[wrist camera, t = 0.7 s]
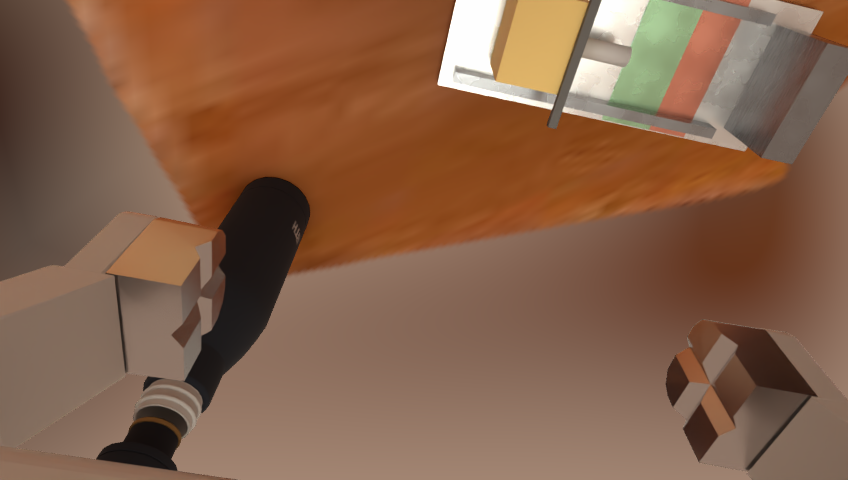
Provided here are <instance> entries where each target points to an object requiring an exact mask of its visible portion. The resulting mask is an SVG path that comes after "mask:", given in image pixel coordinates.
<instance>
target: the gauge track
mask: <svg viewBox="0 0 848 480" xmlns="http://www.w3.org/2000/svg"><path fill="white" fill-rule="evenodd" d="M506 1H507V0H456V1H455V5H454V10H453V14H452V19H451V23H450V28H449V32H448V37H447V41H446V46H445V50H444V55H443V59H442V63H441V68H440V72H439V77H438V85H441V86H445V87H450V88H455V89H459V90H464V91H468V92H473V93H478V94H482V95H487V96H491V97H496V98H501V99H505V100H510V101H515V102H519V103H524V104H528V105H533V106H538V107H542V108H547V109H551V110H552V108H553V105H554V102H555V99H556V96H557V95H556V94H551V93H546V92H542V91H537V90H533V89H528V88H524V87H519V86H515V85H510V84H505V83H501V82H496V81H495V78H494V75H493V72H492V69H491V66H490V61H491V57H492V53H493V50H494V46H495V42H496V39H497V35H498V31H499V27H500V24H501V20H502V16H503V13H504V9H505V5H506ZM822 14H823V12H822V11H819V10H815V9H811V8H807V7H803V6H799V5H795V4H791V3H787V2H783V1H779V0H602V1H601V4H600V7H599V10H598V13H597V15H596V18H595V21H594V24H593V27H592V29H591V32H590V35H589V37H590V38H594V39H598V40H603V41H607V42H611V43H616V44H620V45H624V46H629V47H631V48H632V54H631V58H630V61H629V63H628V64H627V66H626V67H620V66H616V65H611V64H607V63H602V62H598V61H594V60H589V59H585V58H581V60H580V63H579V66H578V69H577V72H576V74H575V77H574V80H573V83H572V86H571V88H570V91H569V94H568V97H567V100H566V102H565V105H564V108H563V111H562V112H565V113H570V114H575V115H579V116H584V117H588V118H593V119H598V120H602V121H607V122H611V123H616V124H621V125H625V126H630V127H635V128H639V129H644V130H648V131H653V132H658V133H662V134H667V135H671V136H676V137H681V138H685V139H690V140H695V141H699V142H704V143H708V144H713V145H718V146H722V147H727V148H731V149H736V150H741V151H745V150H746V149H747V147H749V148H750V149H751V150H752V151H754V152H755V153H756V154H757V155H759V156H760V157H761V158H766V159H770V160H775V161H780V162H784V163H789V164H792V163H793V162H794V160H795V159H796V157H797V155H798V154H799V152H800V150H801V149H802V147H803V146H804V144H805V142H806V141H807V139H808V138H809V136H810V135H811V133H812V131H813V130H814V128H815V126H816V125H817V123H818V122H819V120H820V118H821V117H822V115H823V114H824V112H825V110H826V109H827V107H828V106H829V104H830V102H831V101H832V99H833V98H834V96H835V94H836V93H837V91H838V90H839V88H840V86H841V85H842V83H843V81H844V80H845V78H846V77H847V75H848V46H845V45H842V44H839V43H836V42H834V41H831V40H828V39H825V38H822V37H819V36H817V35H814V34H811V33H812V31H813V30H814V28H815V26H816V24H817V23H818V21H819V19H820V17H821V16H822Z"/></svg>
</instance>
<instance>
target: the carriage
mask: <svg viewBox="0 0 848 480" xmlns="http://www.w3.org/2000/svg"><path fill="white" fill-rule="evenodd" d="M601 1H602V0H507V1H506V5H505V9H504V13H503V16H502V20H501V24H500V27H499V31H498V35H497V39H496V42H495V46H494V50H493V53H492V57H491V61H490V66H491V69H492V72H493V75H494V78H495V81H496V82H501V83H505V84H510V85H515V86H519V87H524V88H528V89H533V90H537V91H542V92H546V93H551V94H556V95H557V96H556V99H555V102H554V105H553V108H552V111H551V114H550V117H549V120H548V122H547V126H548V127H549V128H554V129H556V128H557V125H558V122H559V119H560V116H561V114H562V111H563V108H564V105H565V102H566V100H567V97H568V94H569V91H570V88H571V86H572V83H573V80H574V77H575V74H576V72H577V69H578V66H579V63H580V60H581V58H585V59H589V60H594V61H598V62H602V63H607V64H611V65H616V66H620V67H626V66H627V64H628V63H629V61H630V58H631V54H632V48H631V47H629V46H624V45H620V44H616V43H611V42H607V41H603V40H598V39H594V38H590V37H589V35H590V32H591V29H592V27H593V24H594V21H595V18H596V15H597V13H598V10H599V7H600V4H601Z"/></svg>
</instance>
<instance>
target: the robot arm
mask: <svg viewBox="0 0 848 480" xmlns="http://www.w3.org/2000/svg"><path fill="white" fill-rule="evenodd" d="M225 254H226V236H225V234H224V232H223V230H220V229H215V228H210V227H205V226H200V225H195V224H190V223H186V222H181V221H176V220H171V219H166V218H161V217H160V218H158V217H156V216H151V215H146V214H140V213H134V212H129V211H127V212H121V213H119V214H118V215H117V216H116V217H115V218H114V219H113V220H112V221H111V222H110V223H109V224H108V225H107V226H106V227H105V228H104V229H103V230H102V231H100V232H99V233H98V234H97V235H96V236H95V237H94V238H93V239H92V240H91V241H90V242H89V243H88V244H87V245H86V246H85V247H84V248H83V249H82V250H81V251H79V252H78V253H77V254H76V255H75V256H74V257H73V258H72V259H71V260H70V261H69V262H68V263H67V264H66V265H65V266H64V267H63V266H56V265H51V266H48V267H45V268H42V269H39V270H35V271H33V272H29V273H26V274H23V275H20V276H16V277H13V278H10V279H7V280H4V281H1V282H0V480H236V479H229V478H222V477H215V476H208V475H201V474H194V473H187V472H180V471H173V470H166V469H159V468H152V467H145V466H138V465H131V464H124V463H117V462H110V461H104V460H97V459H90V458H83V457H75V456H69V455H61V454H55V453H47V452H41V451H34V450H27V449H20V448H17V447H18V446H20V445H21V444H23V443H24V442H26V441H27V440H29V439H30V438H32V437H33V436H35V435H36V434H38V433H39V432H41V431H43V430H44V429H46V428H47V427H49V426H50V425H52V424H53V423H55V422H56V421H58V420H59V419H61V418H63V417H64V416H65V415H67V414H69V413H70V412H72V411H73V410H75V409H76V408H78V407H79V406H81V405H83V404H84V403H86V402H87V401H89V400H90V399H92V398H93V397H95V396H96V395H98V394H99V393H101V392H102V391H104V390H105V389H107V388H109V387H110V386H111V385H113V384H115V383H116V382H118V381H119V380H121V379H122V378H124V377H125V376H126V374H125V373H127V374H135V375H142V376H150V377H158V378H165V379H173V380H180V381H185V379H186V377H187V375H188V373H189V372H190V370H191V368H192V366H193V364H194V362H195V360H196V359H197V357H198V355H199V353H200V351H201V336H202V335H204V334H206V333H208V332H209V331H211V330H212V328H213V326H214V324H215V323H216V321H217V319H218V316H219V313H220V309H221V306H222V303H223V298H224V291H225V274H224V273H223V271H222V270H221V269H220V267H219V266H218V265H219V264H220V262H221V260H222V259H223V257H224V255H225ZM687 338H688V342H689V348H687V349H685V350H683V351H682V352H680V353H679V354H677V355H675V357H674V359H673V361H672V363H671V364H670V366H669V368H668V372H667V378H666V388H667V394H668V397H669V400H670V402H671V404H672V406H673V408H674V409H675V410H676V411H677V412H678V413H680V414H681V415H682V416H683V417H684V418H685V419H686V422H685V425H684V427H683V430H684V432H685V434H686V436H687V439H688V440H689V443H690V445H691V447H692V449H693V451H694V453H695V455H696V457H697V459H698V462H699V463H704V464H709V465H715V466H720V467H725V468H731V469H736V470H742V471H747V472H748V473H747V475H748V476H749V477H750V478H751V479H752V480H848V400H847V398H846V397H845V396H844V395H843V394H842V392H841V391H840V390H839V389H838V388H837V386H836V385H835V384H834V383H833V382H832V380H831V379H830V378H829V377H828V376H827V374H826V373H825V372H824V371H823V370H822V368H821V367H820V366H819V365H818V364H817V363H816V361H815V360H814V359H813V358H812V357H811V355H809V353H808V352H807V351H806V349H805V348H804V347H803V346H802V345H801V343H800V342H799V341H798V340H797V339H796V338H795V337H794V336H792V335H790V334H788V333H786V332H781V331H774V330H768V329H761V328H751V327H745V326H739V325H733V324H727V323H721V322H716V321H710V320H701V321H699V322H698V323H697V324H695V325H694V327H693V328H692V330H691V331H690V333H689V334H688V336H687Z"/></svg>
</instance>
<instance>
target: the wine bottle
mask: <svg viewBox="0 0 848 480" xmlns="http://www.w3.org/2000/svg"><path fill="white" fill-rule="evenodd" d="M309 217H310V210H309V204H308V202H307V200H306V197H305V196H304V195H303V193H302V192H301V191H300V190H299V189H298V188H297V187H296V186H294V185H293V184H291V183H290V182H288V181H285V180H282V179H279V178H269V177H265V178H261V179H257V180H255V181H253V182H252V183H250V184H249V185H247V186H246V188H245V189H244V191H243V192H242V193H241V195H240V196H239V198H238V199H237V201H236V202H235V204H234V205H233V207H232V208H231V210H230V211H229V213H228V214H227V216H226V217H225V219H224V220H223V222H222V223H221V225H220V226H219V228H218V229H220V230H223V232H224V234H225V236H226V254H225V255H224V257H223V259H222V260H221V262H220V264H219V265H218V266H219V267H220V269H221V270H222V271H223V273H224V274H225V291H224V298H223V303H222V306H221V309H220V313H219V316H218V319H217V321H216V323H215V324H214V326H213V328H212V330H211V331H209V332H208V333H206V334H204V335H202V336H201V351H200V353H199V355H198V357H197V359H196V360H195V362H194V364H193V366H192V368H191V370H190V372H189V373H188V375H187V377H186V379H185V381H180V380H173V379H165V378H158V377H150V376H148V377H147V379H146V380H145V382H144V387H143V393H142V395H141V398H140V399H139V401H138V402H137V403H136V404H135V411H134V416H133V420H134V422H133V423H132V425H131V426H130V428H129V433H128V435H127V436H126V438H125V440H124V441H123V442H120V443H114V444H111V445H109V446H107V447H105V448H104V449H103V450H102V451H101V453H100V454H99V455H98V457H97V460H104V461H110V462H117V463H124V464H131V465H138V466H145V467H152V468H159V469H166V470H173V471H177V467H176V465H175V464H174V462H173V461H172V460H171V458H172V456H173V454H174V452H175V450H176V448H178V446H179V445H180V443H181V439H183V438H185V437H186V436H187V435H188V433H189V432H190V431H191V430H193V428H194V427H195V426H196V422H197V419H198V418H199V417H200V415H201V413H203V412H204V411H205V410H206V409H207V407H208V406H209V404H210V402H211V400H212V397H213V395H214V393H215V391H216V389H217V387H218V385H219V382H220V380H221V378H222V376H223V375H224V374H225V373H226V372H227V371H228V370H229V369H230V368H231V367H232V366H233V365H234V364H236V363H237V362H238V361H239V360H240V359H241V358H242V357H243V356H244V355H245V353H246V352H247V351H248V350H249V349H250V347H251V346H252V345H253V344H254V342H255V341H256V340H257V339H258V337H259V336H260V334H261V333H262V332H263V330H264V329H265V327H266V325H267V323H268V320H269V318H270V316H271V313H272V311H273V308H274V305H275V303H276V300H277V298H278V296H279V293H280V290H281V288H282V286H283V283H284V281H285V278H286V276H287V273H288V271H289V268H290V266H291V263H292V261H293V258H294V256H295V254H296V251H297V249H298V246H299V244H300V241H301V239H302V236H303V234H304V231H305V229H306V226H307V224H308V220H309Z"/></svg>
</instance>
